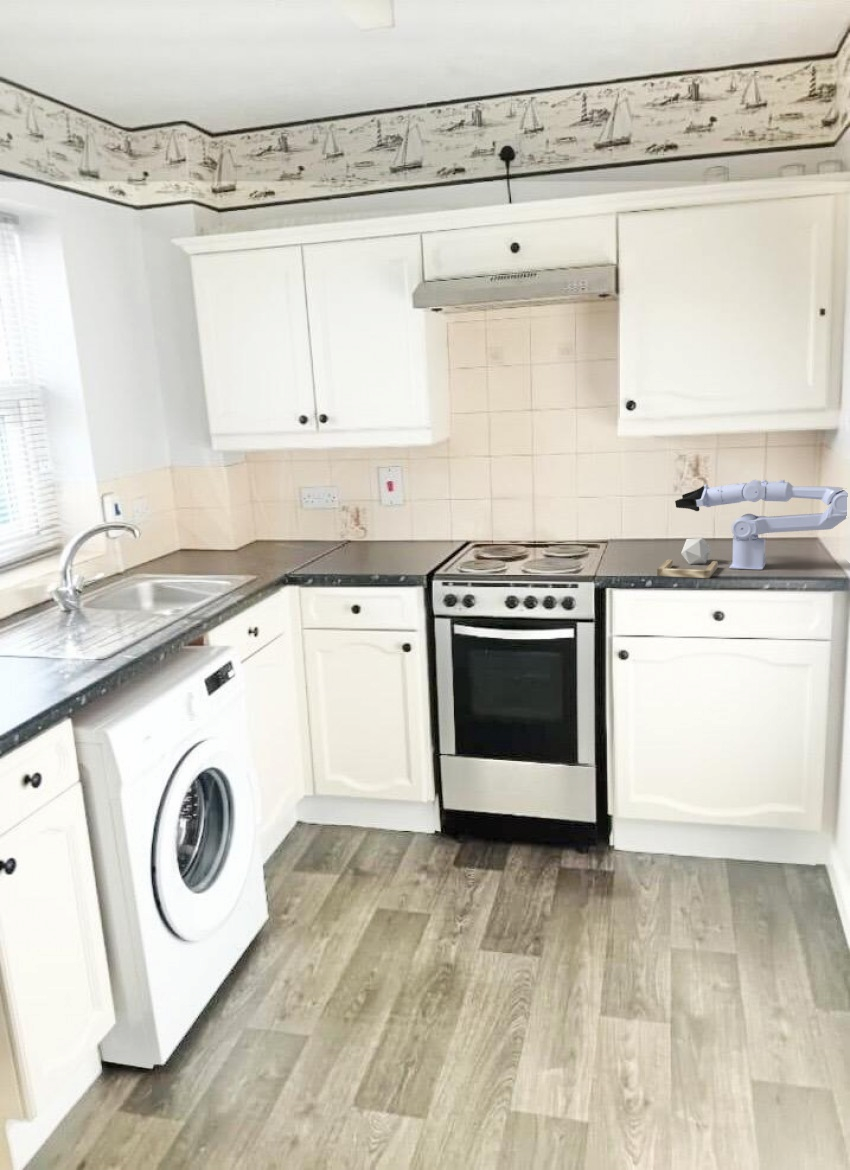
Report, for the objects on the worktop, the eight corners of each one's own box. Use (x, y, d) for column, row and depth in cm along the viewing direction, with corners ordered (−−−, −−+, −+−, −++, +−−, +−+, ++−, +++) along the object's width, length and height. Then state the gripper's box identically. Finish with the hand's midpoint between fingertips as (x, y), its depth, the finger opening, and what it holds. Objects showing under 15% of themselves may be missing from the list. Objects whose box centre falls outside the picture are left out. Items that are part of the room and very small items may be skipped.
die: (705, 568, 278) (719, 541, 279) (680, 555, 278) (694, 528, 280) (698, 572, 286) (711, 546, 287) (673, 560, 287) (686, 533, 288)
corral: (717, 567, 275) (717, 561, 275) (709, 578, 263) (709, 571, 262) (667, 565, 282) (667, 559, 281) (657, 575, 269) (657, 569, 269)
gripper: (727, 477, 278) (683, 483, 286) (715, 487, 266) (670, 494, 274) (730, 499, 279) (687, 505, 287) (719, 510, 268) (674, 516, 275)
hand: (679, 501), depth 281 cm, fingers open, 7 cm apart
